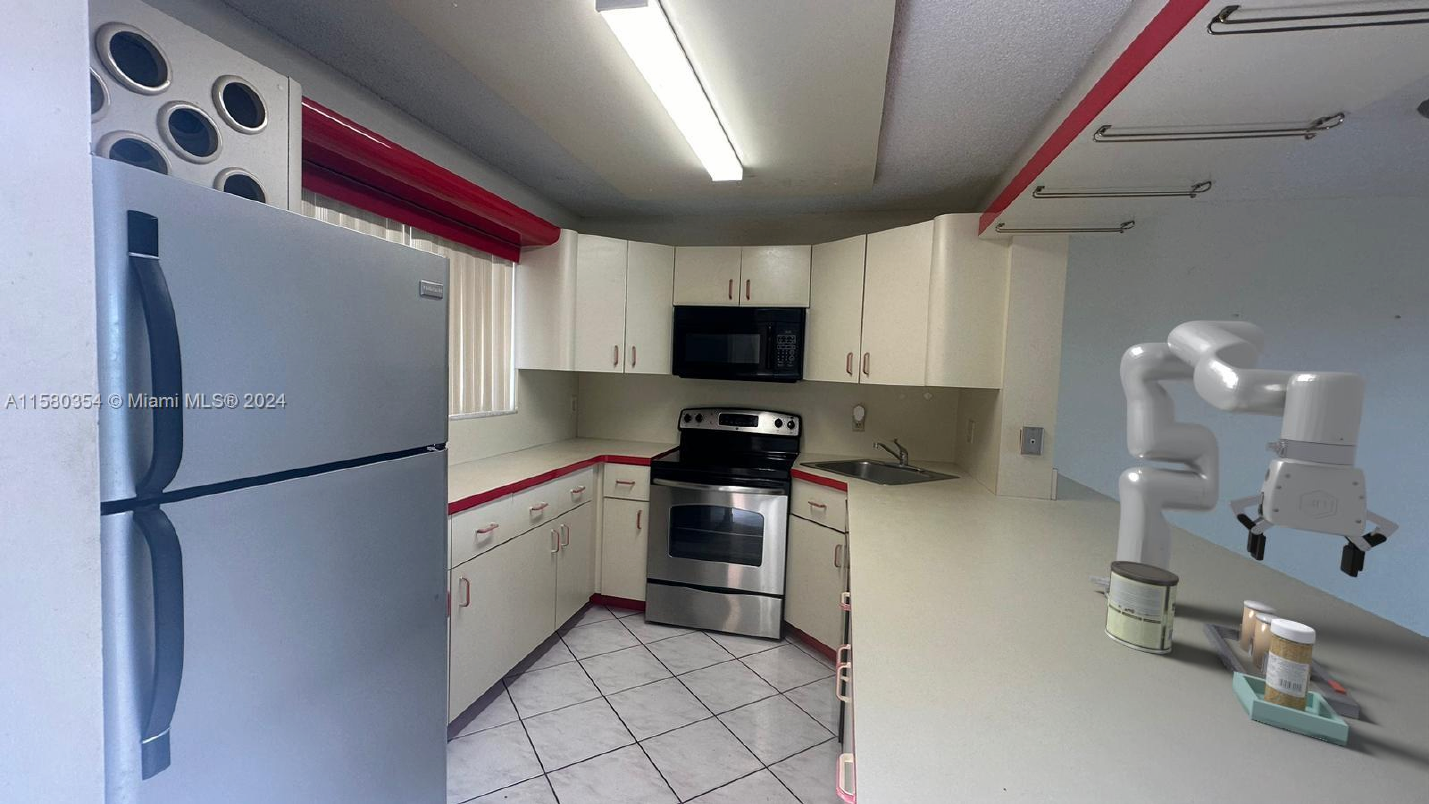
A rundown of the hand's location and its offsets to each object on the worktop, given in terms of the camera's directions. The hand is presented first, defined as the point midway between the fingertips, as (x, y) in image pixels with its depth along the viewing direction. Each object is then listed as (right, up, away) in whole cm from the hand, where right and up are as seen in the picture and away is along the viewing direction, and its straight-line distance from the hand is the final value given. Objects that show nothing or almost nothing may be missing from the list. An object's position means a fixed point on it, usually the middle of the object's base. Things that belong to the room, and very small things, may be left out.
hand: (1301, 566), depth 79 cm
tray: (-1, -23, +1) cm, 23 cm away
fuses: (+13, -23, +19) cm, 33 cm away
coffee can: (-6, -22, +23) cm, 33 cm away
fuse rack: (+11, -23, +15) cm, 30 cm away
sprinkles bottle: (-1, -23, +1) cm, 23 cm away
